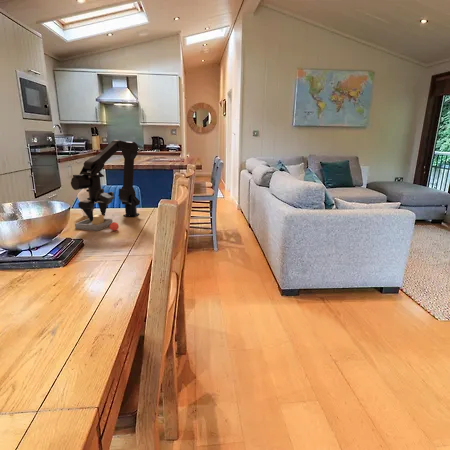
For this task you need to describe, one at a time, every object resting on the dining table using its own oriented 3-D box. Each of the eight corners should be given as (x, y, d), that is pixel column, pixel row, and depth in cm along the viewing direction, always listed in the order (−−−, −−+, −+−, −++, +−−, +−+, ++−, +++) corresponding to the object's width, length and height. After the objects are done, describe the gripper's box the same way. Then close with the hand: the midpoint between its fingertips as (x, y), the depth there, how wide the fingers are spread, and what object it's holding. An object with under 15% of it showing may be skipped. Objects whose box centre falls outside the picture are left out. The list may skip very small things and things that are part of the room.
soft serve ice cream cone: (91, 217, 166) (88, 188, 161) (76, 217, 166) (72, 187, 161) (98, 213, 174) (95, 185, 169) (83, 213, 174) (80, 185, 169)
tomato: (113, 229, 148) (112, 220, 147) (120, 229, 147) (120, 221, 146) (108, 231, 144) (107, 223, 143) (115, 232, 143) (115, 223, 142)
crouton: (97, 222, 156) (96, 214, 155) (104, 222, 155) (103, 215, 154) (92, 224, 153) (91, 216, 151) (99, 224, 152) (98, 217, 150)
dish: (91, 222, 158) (91, 217, 158) (112, 224, 156) (112, 219, 155) (75, 228, 147) (74, 223, 146) (97, 231, 144) (96, 225, 144)
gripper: (97, 191, 138) (100, 225, 143) (120, 185, 156) (122, 215, 160) (75, 189, 141) (79, 222, 145) (101, 183, 158) (103, 213, 163)
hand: (97, 218), depth 153 cm, fingers open, 9 cm apart
